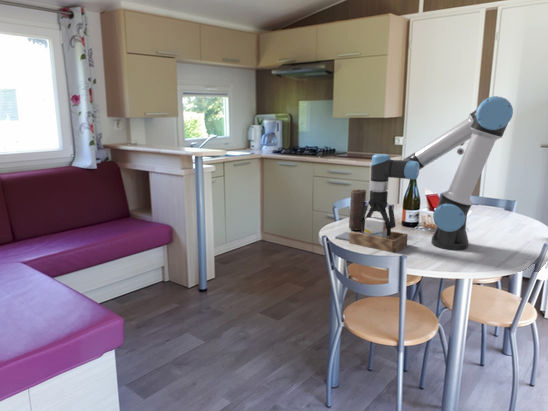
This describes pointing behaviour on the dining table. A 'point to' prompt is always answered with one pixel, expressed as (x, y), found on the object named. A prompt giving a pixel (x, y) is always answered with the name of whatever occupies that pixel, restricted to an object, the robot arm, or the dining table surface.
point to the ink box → (375, 226)
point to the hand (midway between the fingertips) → (375, 240)
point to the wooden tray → (380, 241)
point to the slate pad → (344, 236)
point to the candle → (356, 209)
